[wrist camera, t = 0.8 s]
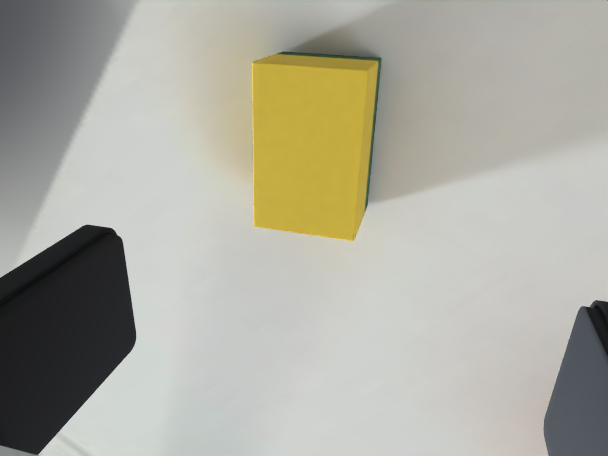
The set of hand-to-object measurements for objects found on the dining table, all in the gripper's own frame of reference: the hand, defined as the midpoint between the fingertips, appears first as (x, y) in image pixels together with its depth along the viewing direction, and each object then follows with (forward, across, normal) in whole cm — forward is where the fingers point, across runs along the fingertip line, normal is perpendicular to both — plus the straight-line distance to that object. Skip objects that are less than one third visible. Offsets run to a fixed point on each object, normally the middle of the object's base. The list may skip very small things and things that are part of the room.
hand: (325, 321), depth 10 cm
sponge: (+14, +3, 0) cm, 15 cm away
